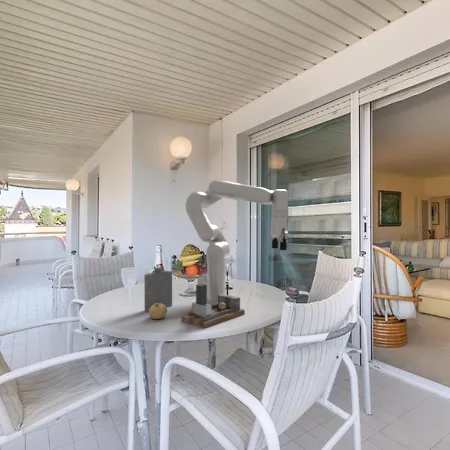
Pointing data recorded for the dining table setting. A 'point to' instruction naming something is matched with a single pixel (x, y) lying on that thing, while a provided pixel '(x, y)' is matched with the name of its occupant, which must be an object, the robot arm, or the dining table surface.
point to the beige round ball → (222, 306)
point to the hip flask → (158, 288)
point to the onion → (157, 311)
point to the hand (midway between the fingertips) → (278, 249)
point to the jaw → (201, 302)
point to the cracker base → (217, 312)
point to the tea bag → (202, 280)
